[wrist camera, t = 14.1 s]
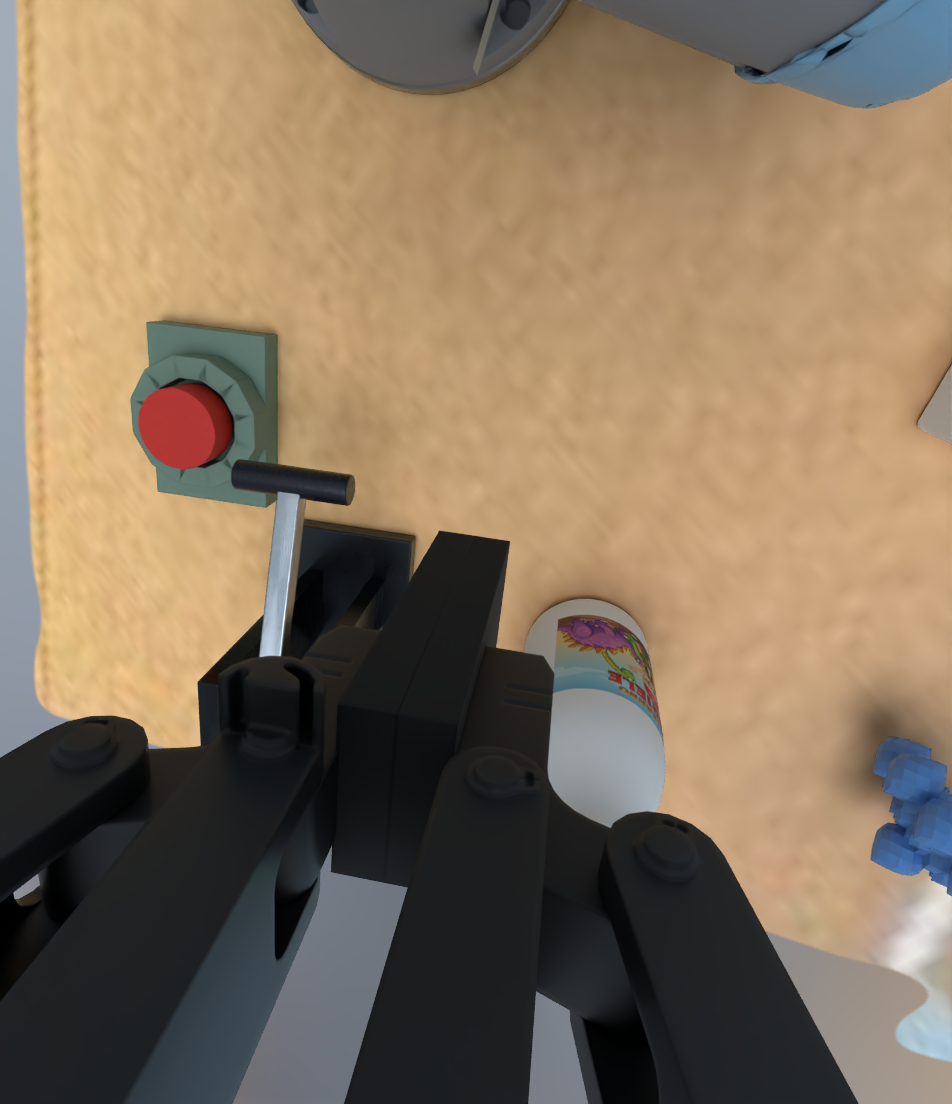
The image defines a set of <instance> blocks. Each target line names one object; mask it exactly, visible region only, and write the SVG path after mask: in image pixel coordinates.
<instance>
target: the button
mask: <svg viewBox="0 0 952 1104" xmlns="http://www.w3.org/2000/svg"><path fill="white" fill-rule="evenodd" d="M138 425H139V431H140V435H141V438H142V440H143V442H144V444H145V446H146V447H147V449H148V450H149V451H150V453H151V454H152V455H153V456H154V457H155V458H157V459H158V460H159V461H160V462H162V463H164V464H166V465H168V466H170V467H173V468H177V469H191V468H195V467H197V466H200V465H202V464H204V463H206V462H208V461H210V460H213V459H215V458H217V457H218V456H220V455H221V454H222V453H223V452H224V451H225V450H226V449H227V447H228V445H229V443H230V441H231V437H232V421H231V416H230V414H229V411H228V409H227V407H226V405H225V404H224V402H223V401H222V400H221V399H220V398H219V396H218V395H216V394H215V393H214V392H213V391H211V390H210V389H208V388H206V387H204V386H201V385H199V384H194V383H185V384H180V385H176V386H172V387H167V388H163V389H159V390H157V391H155V392H153V393H151V394H150V395H149V396H148V397H147V398H146V399H145V401H144V402H143V404H142V406H141V408H140V412H139V417H138Z"/></svg>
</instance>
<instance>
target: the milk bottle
mask: <svg viewBox="0 0 952 1104" xmlns="http://www.w3.org/2000/svg"><path fill="white" fill-rule="evenodd" d="M524 653H530V654H536V655H542V656H544V657H545V659H546V661H547V662H548V664H549V665H550V667H551V669H552V670H553V672H554V687H553V701H552V715H551V728H550V742H549V756H548V777H549V781H550V783H551V785H552V787H553V789H554V791H555V792H556V793H557V795H558V796H559V797H560V798H561V799H562V801H564V802H565V803H566V804H567V805H569V806H570V807H571V808H572V809H574V810H575V811H576V812H578V813H580V814H582V815H584V816H586V817H587V818H589V819H591V820H594V821H596V822H598V823H600V824H603V825H605V826H607V827H609V828H611V826H612V824H613V823H614V822H615V821H617V820H619V819H620V818H622V817H624V816H625V815H627V814H631V813H638V812H645V811H650V812H656V811H657V809H658V806H659V803H660V800H661V797H662V793H663V787H664V782H665V752H664V742H663V733H662V727H661V721H660V715H659V709H658V702H657V697H656V691H655V685H654V680H653V674H652V668H651V663H650V657H649V652H648V648H647V644H646V640H645V637H644V635H643V632H642V631H641V629H640V627H639V626H638V624H637V623H636V622H635V621H634V619H633V618H632V617H631V616H629V615H628V614H627V613H626V612H624V611H623V610H621V609H620V608H618V607H616V606H614V605H612V604H609V603H607V602H604V601H600V600H594V599H575V600H570V601H565V602H563V603H560V604H558V605H556V606H553V607H552V608H550V609H548V610H547V611H546V612H544V613H543V614H542V615H541V616H540V617H539V618H538V619H537V620H536V621H535V623H534V624H533V625H532V627H531V629H530V631H529V633H528V636H527V639H526V643H525V647H524Z"/></svg>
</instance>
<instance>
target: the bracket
mask: <svg viewBox="0 0 952 1104" xmlns="http://www.w3.org/2000/svg"><path fill="white" fill-rule="evenodd" d="M415 540H416V537H415V536H411V535H404V534H397V533H391V532H384V531H377V530H371V529H364V528H357V527H350V526H344V525H337V524H330V523H324V522H317V521H310V520H304V523H303V532H302V540H301V549H300V557H299V566H298V575H297V583H296V592H295V600H294V609H293V617H292V626H291V634H290V643H289V651H288V657H294V658H297V659H300V660H303V659H304V657H305V656H307V655H308V652H309V651H310V649H311V648H312V647H313V645H314V644H315V643H316V641H317V640H318V639H319V637H320V636H322V635H324V634H326V633H328V632H329V631H331V630H333V629H335V628H337V627H339V626H340V625H347V626H353V627H359V628H365V629H371V630H377V631H380V629H381V628H382V627H383V626H384V624H385V622H386V621H387V619H388V617H389V616H390V614H391V612H392V610H393V609H394V607H395V605H396V604H397V602H398V600H399V599H400V597H401V595H402V593H403V592H404V590H405V588H406V587H407V585H408V583H409V582H410V580H411V578H412V577H413V566H414V553H415ZM263 616H264V615H263ZM263 616H262V617H261V618H260V619H259V620H258V621H257V622H256V623H255V624H254V625H253V626H252V627H251V628H250V629H249V630H248V631H247V632H246V633H245V634H244V635H243V636H242V637H241V638H240V639H239V640H238V641H237V642H236V643H235V644H234V645H233V646H232V647H231V648H230V649H229V650H228V651H227V652H226V654H225V655H224V656H223V657H222V658H221V659H220V660H219V661H218V662H217V663H216V664H215V665H214V666H213V667H212V668H211V669H210V670H209V671H208V672H207V673H206V674H205V675H204V676H203V677H202V678H201V679H200V680H199V681H198V699H199V719H200V738H201V746H206V745H209V744H210V743H211V742H212V740H213V739H214V738H215V737H216V736H217V734H218V733H219V732H220V709H219V682H218V674H220V673H221V672H223V671H224V670H225V669H227V668H228V667H230V666H231V665H233V664H236V663H238V662H241V661H244V660H247V659H250V658H256V657H259V652H260V643H261V634H262V625H263Z"/></svg>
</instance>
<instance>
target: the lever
mask: <svg viewBox="0 0 952 1104" xmlns="http://www.w3.org/2000/svg"><path fill="white" fill-rule="evenodd" d="M231 483H232V486H233V487H234V488H235V489H237V490H244V491H251V492H258V493H264V494H271V495H277V501H276V510H275V519H274V528H273V537H272V546H271V554H270V563H269V572H268V581H267V590H266V599H265V607H264V616H263V625H262V634H261V643H260V652H259V657H264V656H287V657H288V651H289V643H290V634H291V626H292V617H293V609H294V600H295V592H296V583H297V575H298V566H299V557H300V549H301V540H302V532H303V523H304V515H305V506H306V500H312V501H319V502H326V503H333V504H340V505H346V506H348V505H350V504H351V502H352V500H353V497H354V492H355V479H354V476H353V475H350V474H343V473H336V472H329V471H322V470H315V469H308V468H301V467H294V466H287V465H280V464H272V463H265V462H258V461H251V460H244V459H238V460H236V461H235V463H234V465H233V467H232V471H231Z"/></svg>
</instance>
